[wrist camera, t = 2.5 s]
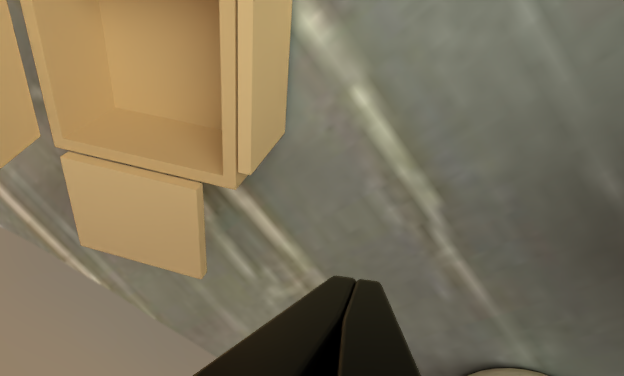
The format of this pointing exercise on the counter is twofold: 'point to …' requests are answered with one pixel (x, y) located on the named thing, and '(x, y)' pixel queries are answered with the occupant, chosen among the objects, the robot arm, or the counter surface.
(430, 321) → the counter surface
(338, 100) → the counter surface
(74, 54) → the carton
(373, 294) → the robot arm
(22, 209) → the counter surface
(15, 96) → the back flap
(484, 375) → the milk bottle
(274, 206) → the counter surface
